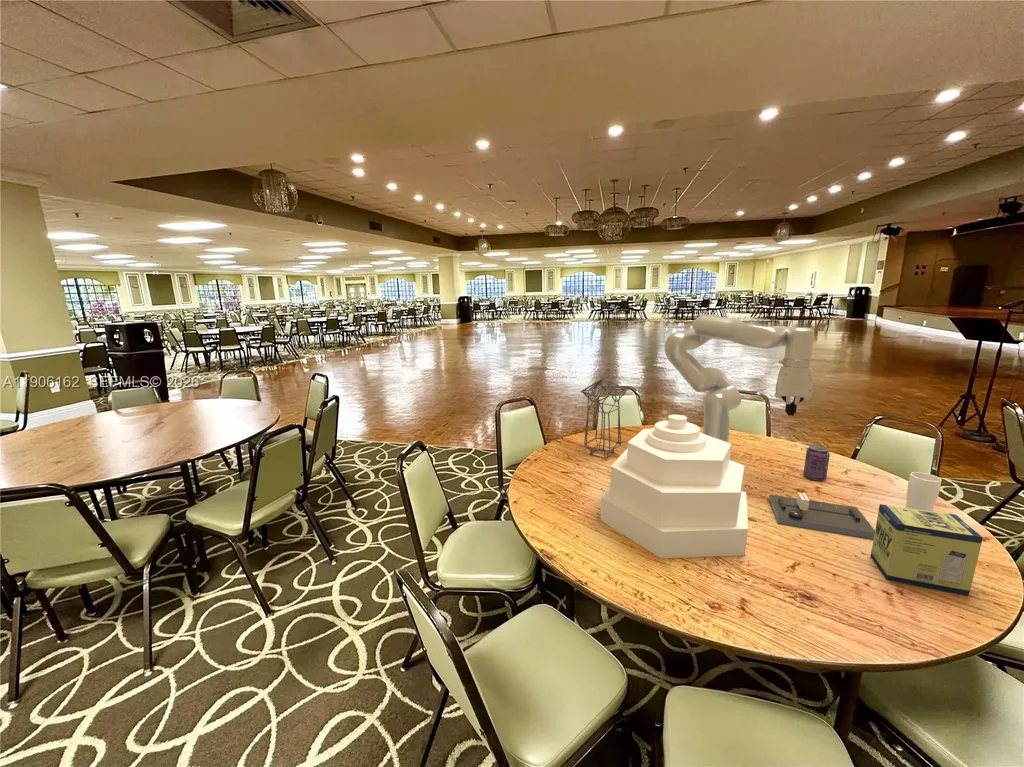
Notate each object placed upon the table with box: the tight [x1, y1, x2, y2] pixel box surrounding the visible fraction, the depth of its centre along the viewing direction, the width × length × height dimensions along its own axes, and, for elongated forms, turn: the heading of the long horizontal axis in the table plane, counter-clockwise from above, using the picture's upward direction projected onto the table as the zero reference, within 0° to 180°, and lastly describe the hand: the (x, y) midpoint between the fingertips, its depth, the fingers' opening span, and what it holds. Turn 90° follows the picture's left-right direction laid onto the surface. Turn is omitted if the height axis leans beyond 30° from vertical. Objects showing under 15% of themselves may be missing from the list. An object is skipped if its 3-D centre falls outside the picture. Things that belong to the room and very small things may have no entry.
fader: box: [796, 492, 810, 511], centre depth 131 cm, size 2×5×4 cm, turn 157°
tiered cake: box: [600, 414, 749, 559], centre depth 127 cm, size 44×45×34 cm
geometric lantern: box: [580, 377, 628, 459], centre depth 180 cm, size 16×16×35 cm
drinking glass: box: [905, 471, 942, 512], centre depth 124 cm, size 7×7×15 cm
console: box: [768, 494, 875, 540], centre depth 129 cm, size 24×16×3 cm, turn 67°
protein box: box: [870, 503, 984, 597], centre depth 101 cm, size 10×16×16 cm
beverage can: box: [803, 444, 831, 481], centre depth 156 cm, size 7×7×12 cm
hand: (790, 414), depth 145 cm, fingers closed
